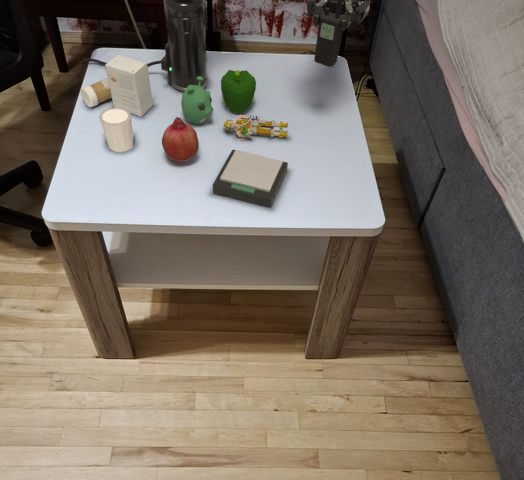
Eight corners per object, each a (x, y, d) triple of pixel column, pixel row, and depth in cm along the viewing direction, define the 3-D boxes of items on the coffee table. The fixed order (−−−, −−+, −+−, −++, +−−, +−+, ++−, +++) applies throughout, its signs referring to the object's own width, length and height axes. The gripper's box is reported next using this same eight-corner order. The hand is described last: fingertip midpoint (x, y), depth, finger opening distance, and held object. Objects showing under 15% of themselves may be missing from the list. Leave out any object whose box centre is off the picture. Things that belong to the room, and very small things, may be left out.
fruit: (158, 166, 112) (153, 125, 103) (170, 145, 116) (166, 104, 108) (193, 173, 111) (191, 132, 103) (204, 152, 115) (202, 111, 107)
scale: (212, 193, 108) (212, 182, 105) (232, 158, 115) (232, 146, 112) (270, 208, 106) (271, 197, 104) (286, 171, 113) (288, 160, 111)
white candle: (130, 155, 113) (124, 127, 107) (100, 150, 114) (93, 122, 108) (140, 138, 117) (135, 109, 111) (111, 133, 117) (105, 104, 112)
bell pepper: (231, 95, 129) (231, 54, 121) (259, 104, 127) (261, 64, 119) (214, 111, 125) (213, 70, 116) (244, 121, 123) (245, 80, 115)
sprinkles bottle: (136, 92, 128) (91, 111, 123) (125, 78, 128) (79, 97, 123) (138, 79, 124) (91, 98, 119) (126, 64, 124) (79, 83, 119)
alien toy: (204, 134, 119) (202, 93, 111) (177, 124, 121) (173, 83, 112) (219, 120, 123) (218, 79, 114) (192, 110, 124) (190, 69, 116)
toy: (287, 138, 117) (223, 132, 115) (284, 145, 122) (222, 139, 120) (289, 115, 116) (224, 108, 115) (286, 123, 122) (224, 116, 120)
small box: (153, 106, 124) (148, 62, 116) (141, 117, 121) (134, 73, 113) (126, 97, 126) (118, 53, 117) (113, 108, 123) (104, 64, 114)
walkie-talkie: (313, 62, 111) (322, -16, 99) (319, 55, 113) (329, -22, 100) (332, 68, 110) (345, -10, 98) (338, 61, 112) (352, -16, 99)
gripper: (314, -38, 109) (297, -3, 100) (380, -27, 108) (368, 9, 99) (310, 1, 115) (293, 37, 107) (372, 11, 114) (360, 48, 105)
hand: (329, 23), depth 103 cm, fingers closed on walkie-talkie, 5 cm apart
